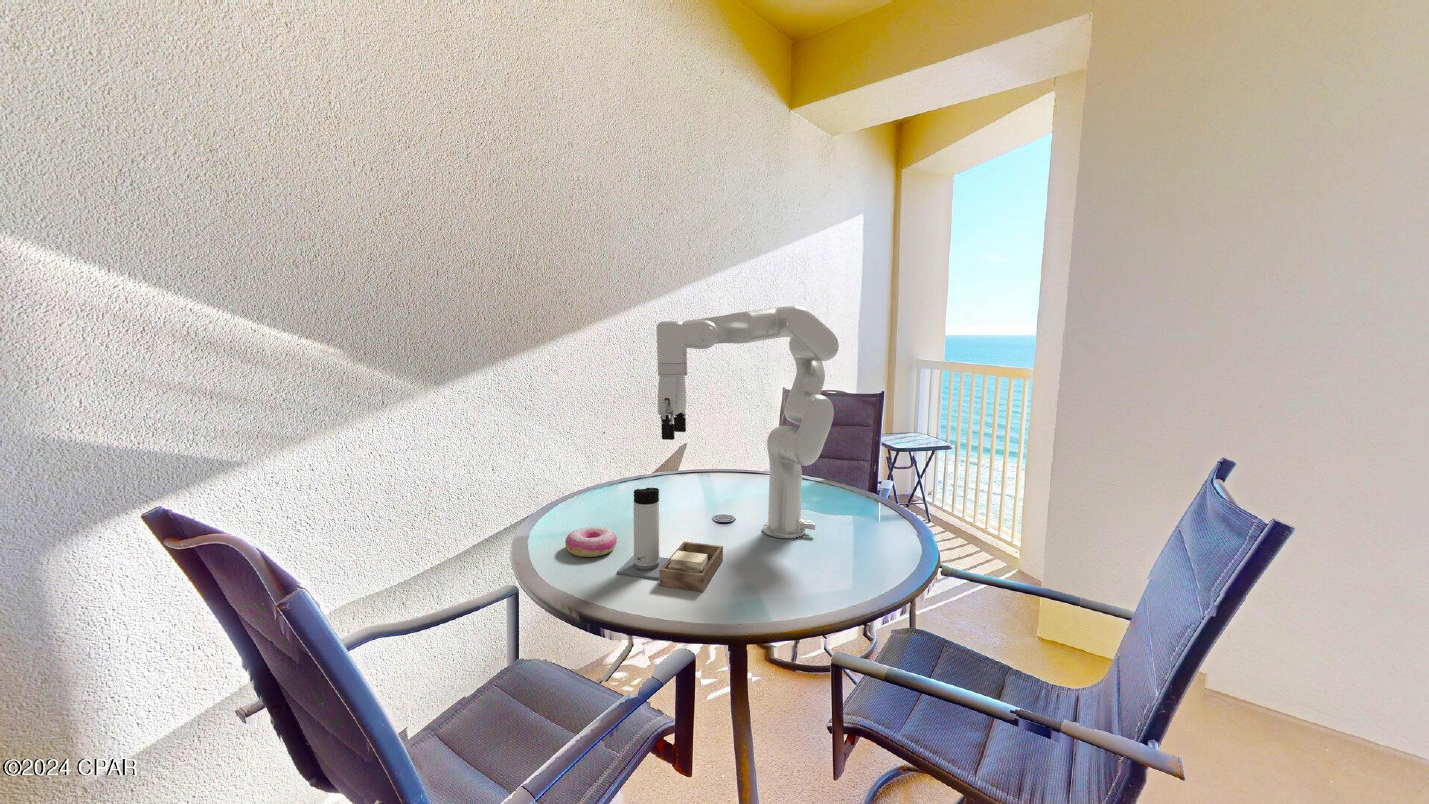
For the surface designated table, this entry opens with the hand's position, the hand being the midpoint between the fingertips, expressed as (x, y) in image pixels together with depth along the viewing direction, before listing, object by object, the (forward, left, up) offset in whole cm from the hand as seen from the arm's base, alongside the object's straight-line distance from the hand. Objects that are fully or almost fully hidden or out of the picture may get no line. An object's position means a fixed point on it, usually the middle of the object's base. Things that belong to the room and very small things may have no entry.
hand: (674, 435), depth 140 cm
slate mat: (+3, +11, -32) cm, 34 cm away
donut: (+22, +5, -32) cm, 39 cm away
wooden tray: (-9, +10, -32) cm, 35 cm away
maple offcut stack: (-9, +14, -32) cm, 36 cm away
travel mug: (+3, +11, -31) cm, 33 cm away
